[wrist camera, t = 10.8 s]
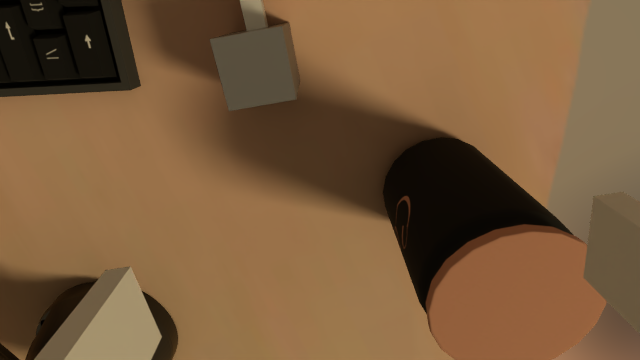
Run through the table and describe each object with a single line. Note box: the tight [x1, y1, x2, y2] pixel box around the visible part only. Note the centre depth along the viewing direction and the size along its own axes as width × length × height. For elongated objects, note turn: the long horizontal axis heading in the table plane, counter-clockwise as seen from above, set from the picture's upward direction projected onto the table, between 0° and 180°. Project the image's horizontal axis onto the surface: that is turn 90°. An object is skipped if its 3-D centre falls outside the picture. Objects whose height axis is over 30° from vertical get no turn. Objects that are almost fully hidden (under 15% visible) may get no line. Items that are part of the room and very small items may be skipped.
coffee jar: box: [383, 138, 607, 360], centre depth 31 cm, size 11×11×18 cm
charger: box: [210, 0, 300, 111], centre depth 30 cm, size 5×9×8 cm, turn 10°
